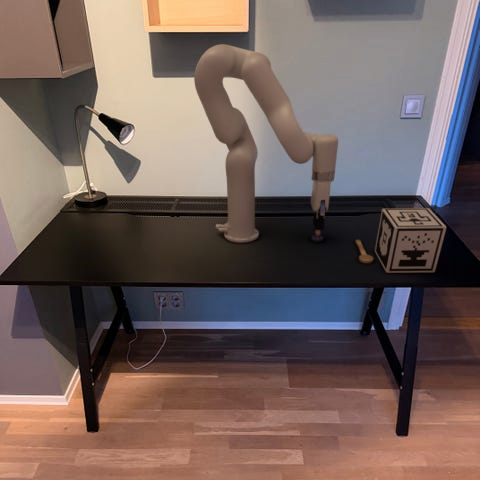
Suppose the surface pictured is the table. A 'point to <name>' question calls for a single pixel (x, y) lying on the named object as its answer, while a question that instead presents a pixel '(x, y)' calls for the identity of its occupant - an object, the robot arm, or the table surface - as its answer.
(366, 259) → the wooden spoon
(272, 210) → the table surface
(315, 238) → the toy lamp
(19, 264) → the table surface
